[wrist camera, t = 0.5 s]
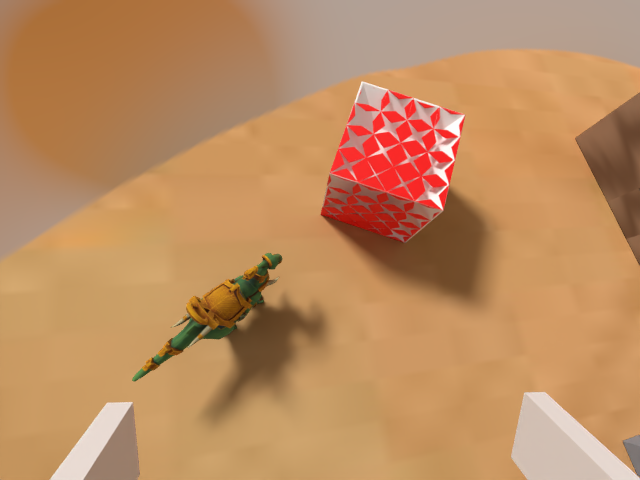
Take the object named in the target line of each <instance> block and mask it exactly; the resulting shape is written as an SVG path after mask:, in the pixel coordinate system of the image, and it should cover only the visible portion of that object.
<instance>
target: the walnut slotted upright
mask: <svg viewBox="0 0 640 480" xmlns="http://www.w3.org/2000/svg"><path fill="white" fill-rule="evenodd" d="M575 139H576V141H577V143H578V145H579V147H580V149H581V151H582V153H583V155H584V157H585V159H586V160H587V162H588V164H589V166H590V168H591V170H592V172H593V174H594V176H595V178H596V180H597V182H598V184H599V186H600V188H601V190H602V192H603V194H604V196H605V198H606V200H607V202H608V204H609V206H610V208H611V210H612V212H613V214H614V215H615V217H616V219H617V221H618V223H619V225H620V227H621V229H622V231H623V233H624V235H625V237H626V239H627V241H628V243H629V245H630V247H631V249H632V251H633V253H634V255H635V257H636V259H637V261H638V263H639V265H640V93H638V94H637V95H635V96H634V97H632V98H631V99H630V100H628V101H627V102H625V103H624V104H623V105H621V106H620V107H618V108H617V109H616V110H614V111H613V112H611V113H610V114H608V115H607V116H606V117H604V118H603V119H601V120H600V121H599V122H597V123H596V124H594V125H593V126H592V127H590V128H589V129H587V130H586V131H584V132H583V133H582V134H580V135H579V136H577V137H576V138H575Z"/></svg>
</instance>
